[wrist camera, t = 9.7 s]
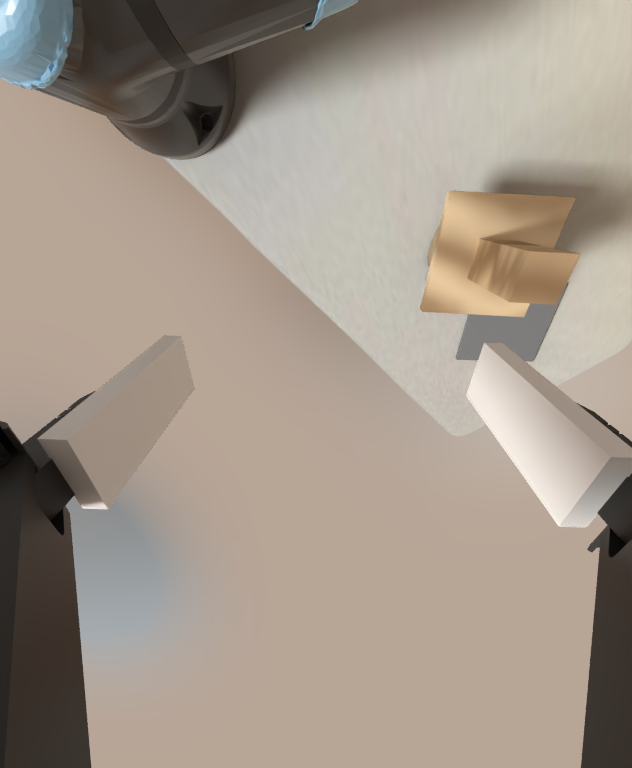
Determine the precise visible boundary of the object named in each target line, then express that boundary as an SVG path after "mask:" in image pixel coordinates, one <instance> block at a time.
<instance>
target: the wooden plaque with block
mask: <svg viewBox="0 0 632 768" xmlns="http://www.w3.org/2000/svg"><path fill="white" fill-rule="evenodd" d="M575 199H576V197H561V196H542V195H523V194H503V193H484V192H464V191H448V192H447V196H446V200H445V205H444V209H443V213H442V217H441V222H440V226H439V230H438V234H437V239H436V243H435V247H434V251H433V256H432V260H431V264H430V268H429V272H428V277H427V281H426V285H425V289H424V294H423V298H422V302H421V306H420V309H421V310H422V311H423V312H438V313H456V314H475V315H493V316H511V317H524V316H525V314H526V312H527V309H528V307H529V305H530V303H533V304H551V305H556V304H557V302H558V300H559V298H560V296H561V294H562V292H563V290H564V288H565V286H566V284H567V281H568V279H569V277H570V275H571V273H572V271H573V269H574V267H575V265H576V263H577V261H578V259H579V257H580V255H581V254H578V253H573V252H569V251H564V250H559V249H554V247H555V245H556V243H557V240H558V238H559V236H560V233H561V231H562V229H563V226H564V224H565V222H566V220H567V217H568V215H569V213H570V210H571V208H572V206H573V203H574V201H575Z"/></svg>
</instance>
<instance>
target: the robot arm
mask: <svg viewBox="0 0 632 768" xmlns="http://www.w3.org/2000/svg"><path fill="white" fill-rule="evenodd" d="M358 1H360V0H0V78H2V79H4V80H5V81H7V82H9V83H11V84H14V85H17V86H20V87H22V88H26V87H27V88H30V89H35V90H38V91H40V92H43V93H46V94H48V95H51V96H54V97H56V98H59V99H62V100H64V101H67V102H70V103H72V104H75V105H78V106H80V107H83V108H86V109H88V110H91V111H94V112H96V113H99V114H101V115H104V116H106V117H107V118H108V119H109V120H110V121H111V123H112V124H113V125H114V126H115V127H116V128H117V129H118V130H119V131H120V132H121V133H122V134H123V135H124V136H125V137H126V138H128V139H129V140H130V141H132V142H133V143H134V144H136V145H137V146H139V147H141V148H142V149H145V150H146V151H148V152H151V153H153V154H156V155H159V156H162V157H166V158H170V159H178V160H184V159H191V158H195V157H198V156H200V155H202V154H204V153H205V152H207V151H208V150H210V149H211V148H212V147H213V146H214V145H215V144H216V143H217V142H218V140H219V139H220V138H221V136H222V135H223V133H224V131H225V129H226V127H227V125H228V123H229V120H230V117H231V113H232V109H233V104H234V97H235V69H234V61H233V56H232V52H235V51H238V50H241V49H243V48H246V47H249V46H251V45H254V44H257V43H260V42H262V41H265V40H268V39H270V38H273V37H276V36H278V35H281V34H284V33H287V32H289V31H292V30H295V29H297V28H300V27H302V28H303V29H304V30H310V29H313V28H314V27H315V26H316V25H317V24H318V23H319V22H320V20H322V19H324V18H326V17H328V16H331V15H333V14H335V13H338V12H340V11H342V10H344V9H347V8H349V7H351V6H353V5H355V4H356V3H357V2H358ZM194 389H195V388H194V384H193V380H192V377H191V372H190V368H189V364H188V361H187V356H186V352H185V348H184V344H183V340H182V337H181V336H163V337H162V338H161V339H159V340H158V341H157V342H156V343H154V344H153V345H152V346H151V347H150V348H148V349H147V350H146V351H145V352H143V353H142V354H141V355H140V356H138V357H137V358H136V359H135V360H134V361H132V362H131V363H130V364H129V365H127V366H126V367H125V368H124V369H123V370H121V371H120V372H119V373H118V374H116V375H115V376H114V377H113V378H111V379H110V380H109V381H108V382H106V383H105V384H104V385H103V386H102V387H101V388H99V389H98V390H97V391H94V392H92V393H90V394H88V395H86V396H84V397H82V398H80V399H79V400H78V401H76V402H75V403H74V404H73V405H71V406H70V407H69V408H68V410H65V411H64V412H62V413H61V414H60V415H59V416H58V418H55V419H54V420H52V421H51V422H50V423H48V424H47V425H46V426H45V427H43V428H42V429H41V430H40V431H38V432H37V433H36V434H35V435H33V436H32V437H31V438H29V439H28V440H27V441H26V442H24V443H23V444H21V442H20V441H19V439H18V438H17V437H16V435H15V434H14V433H13V431H12V429H11V428H10V427H9V425H8V424H7V423H5V422H1V421H0V768H91V760H90V748H89V736H88V723H87V713H86V700H85V689H84V676H83V664H82V653H81V640H80V628H79V616H78V604H77V593H76V580H75V569H74V558H73V546H72V533H71V521H70V513H69V511H68V509H67V508H66V506H65V505H66V504H67V503H68V502H69V501H70V499H71V498H72V497H73V496H75V497H76V499H77V500H78V502H79V503H80V505H81V506H82V508H89V509H108V508H109V507H110V506H111V504H112V503H113V501H114V500H115V499H116V497H117V496H118V495H119V493H120V492H121V490H122V489H123V488H124V486H125V485H126V483H127V482H128V480H129V479H130V478H131V476H132V475H133V474H134V472H135V471H136V469H137V468H138V466H139V465H140V464H141V463H142V461H143V460H144V458H145V457H146V456H147V454H148V453H149V451H150V450H151V449H152V447H153V446H154V444H155V443H156V442H157V440H158V439H159V437H160V436H161V435H162V433H163V432H164V430H165V429H166V427H167V426H168V425H169V424H170V422H171V420H172V419H173V418H174V416H175V415H176V414H177V412H178V411H179V409H180V408H181V407H182V405H183V404H184V403H185V401H186V400H187V398H188V397H189V396H190V394H191V393H192V391H193V390H194ZM466 396H467V398H468V399H469V401H470V402H471V403H472V405H473V406H474V408H475V409H476V410H477V412H478V413H479V415H480V416H481V417H482V419H483V420H484V422H485V423H486V424H487V426H488V427H489V429H490V430H491V431H492V433H493V434H494V436H495V437H496V439H497V440H498V441H499V443H500V444H501V446H502V447H503V448H504V450H505V451H506V453H507V454H508V455H509V457H510V458H511V460H512V461H513V463H514V464H515V465H516V467H517V468H518V469H519V471H520V472H521V474H522V475H523V477H524V478H525V479H526V481H527V482H528V484H529V485H530V486H531V488H532V489H533V491H534V492H535V493H536V495H537V496H538V498H539V499H540V501H541V502H542V503H543V505H544V506H545V507H546V509H547V510H548V512H549V513H550V515H551V516H552V517H553V519H554V520H555V522H556V523H557V524H558V526H559V527H585V528H586V527H587V526H588V525H589V524H590V522H591V521H592V520H593V519H594V518H595V517H596V515H597V514H599V515H600V516H601V518H602V519H603V520H604V521H605V522H606V523H607V526H606V528H605V529H604V530H603V531H602V532H601V533H600V534H599V535H598V537H597V538H596V539H595V540H594V541H593V542H592V543H591V544H590V546H589V548H588V550H589V551H590V552H593V551H594V550H595V549H596V548H598V547H600V553H599V564H598V576H597V587H596V599H595V611H594V622H593V635H592V646H591V658H590V669H589V682H588V693H587V705H586V716H585V727H584V739H583V751H582V763H581V768H632V442H631V441H630V440H629V439H628V438H626V437H625V436H624V435H623V434H619V431H618V430H616V429H615V428H614V427H612V426H611V425H608V423H607V422H606V421H605V420H604V419H602V418H601V417H600V416H599V415H597V414H596V413H595V412H593V411H591V410H589V409H587V408H586V407H584V406H582V405H580V404H578V403H576V402H575V401H573V400H572V399H571V398H569V397H568V396H567V395H566V394H565V393H563V392H562V391H561V390H560V389H558V388H557V387H556V386H555V385H554V384H552V383H551V382H550V381H549V380H547V379H546V378H545V377H544V376H542V375H541V374H540V373H539V372H538V371H536V370H535V369H534V368H533V367H531V366H530V365H529V364H528V363H526V362H525V361H524V360H523V359H522V358H520V357H519V356H518V355H517V354H515V353H514V352H513V351H512V350H510V349H509V348H508V347H507V346H506V345H504V344H503V343H484V344H483V347H482V350H481V353H480V356H479V359H478V362H477V365H476V368H475V371H474V374H473V377H472V380H471V383H470V386H469V389H468V392H467V395H466Z"/></svg>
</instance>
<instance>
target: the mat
mask: <svg viewBox="0 0 632 768" xmlns="http://www.w3.org/2000/svg"><path fill="white" fill-rule="evenodd" d="M566 287H567V284H566V286H565V288H564V290H563V292H562V294H561V296H560V298H559V300H558V302H557V304H556V305H551V304H533V303H530V305H529V307H528V309H527V312H526V314H525V316H524V317H511V316H493V315H475V314H468V317H467V321H466V324H465V328H464V331H463V335H462V338H461V342H460V345H459V348H458V352H457V355H456V359H457V360H478V359H479V356H480V353H481V350H482V347H483V344H484V343H503V344H504V345H506V346H507V347H508V348H509V349H510V350H512V351H513V352H514V353H515V354H517V355H518V356H519V357H520V358H522V359H523V360H524V361H533V360H534V358H535V356H536V354H537V351H538V349H539V347H540V345H541V342H542V340H543V338H544V336H545V334H546V331H547V329H548V327H549V325H550V322H551V320H552V318H553V316H554V313H555V311H556V309H557V307H558V304H559V302H560V300H561V298H562V296H563V293H564V291H565V289H566Z"/></svg>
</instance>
